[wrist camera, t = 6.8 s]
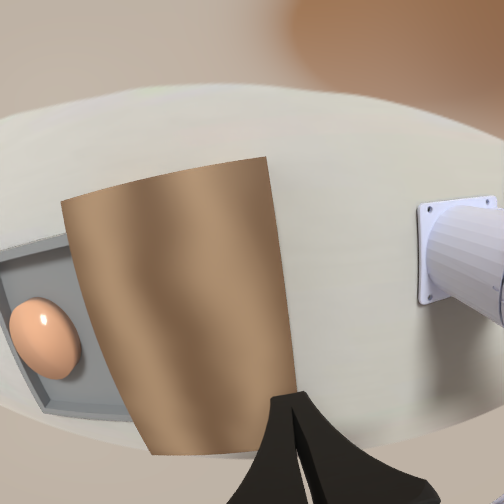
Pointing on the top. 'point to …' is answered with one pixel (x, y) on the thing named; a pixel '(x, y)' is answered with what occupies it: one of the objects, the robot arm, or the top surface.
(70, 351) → the peach rounded disc
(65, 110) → the top surface
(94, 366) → the tray
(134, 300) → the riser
